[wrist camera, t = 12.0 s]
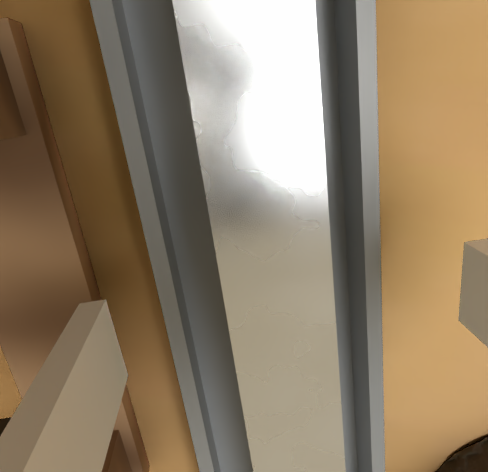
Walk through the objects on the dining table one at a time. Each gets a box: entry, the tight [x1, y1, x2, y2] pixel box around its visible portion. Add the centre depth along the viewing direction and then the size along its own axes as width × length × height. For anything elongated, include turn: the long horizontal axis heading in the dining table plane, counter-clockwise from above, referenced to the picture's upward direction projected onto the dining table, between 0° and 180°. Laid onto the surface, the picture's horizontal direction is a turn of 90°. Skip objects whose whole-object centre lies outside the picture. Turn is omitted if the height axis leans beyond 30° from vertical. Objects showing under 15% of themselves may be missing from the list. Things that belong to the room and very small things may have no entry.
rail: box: [172, 0, 346, 472], centre depth 15 cm, size 24×4×4 cm, turn 8°
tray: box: [89, 0, 385, 472], centre depth 16 cm, size 28×8×2 cm, turn 8°
